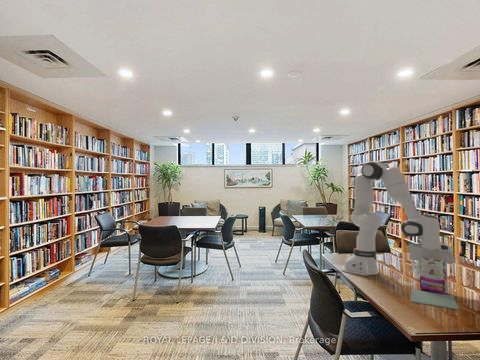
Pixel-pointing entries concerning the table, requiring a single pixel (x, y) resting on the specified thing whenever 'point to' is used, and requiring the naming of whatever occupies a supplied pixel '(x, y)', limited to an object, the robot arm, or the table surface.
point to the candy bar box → (433, 275)
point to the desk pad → (434, 299)
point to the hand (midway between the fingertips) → (431, 269)
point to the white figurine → (416, 268)
